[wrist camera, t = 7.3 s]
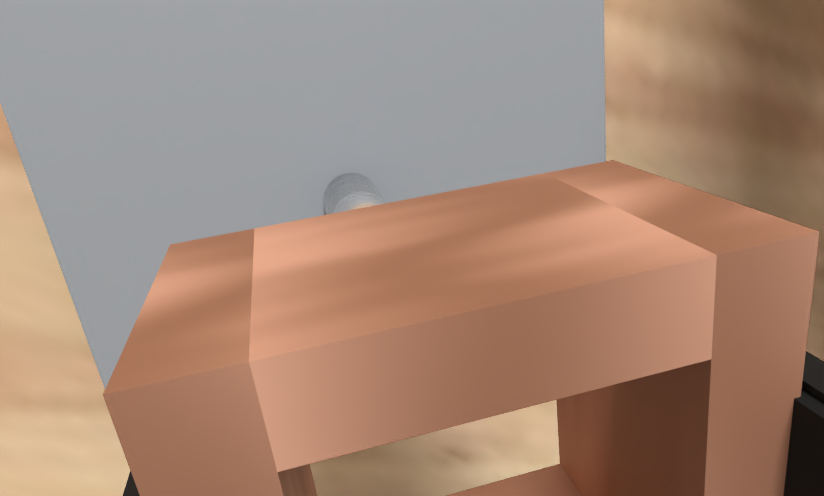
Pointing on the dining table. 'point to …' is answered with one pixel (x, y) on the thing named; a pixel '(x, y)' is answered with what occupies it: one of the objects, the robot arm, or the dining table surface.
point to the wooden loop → (479, 339)
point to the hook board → (275, 117)
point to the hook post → (351, 193)
